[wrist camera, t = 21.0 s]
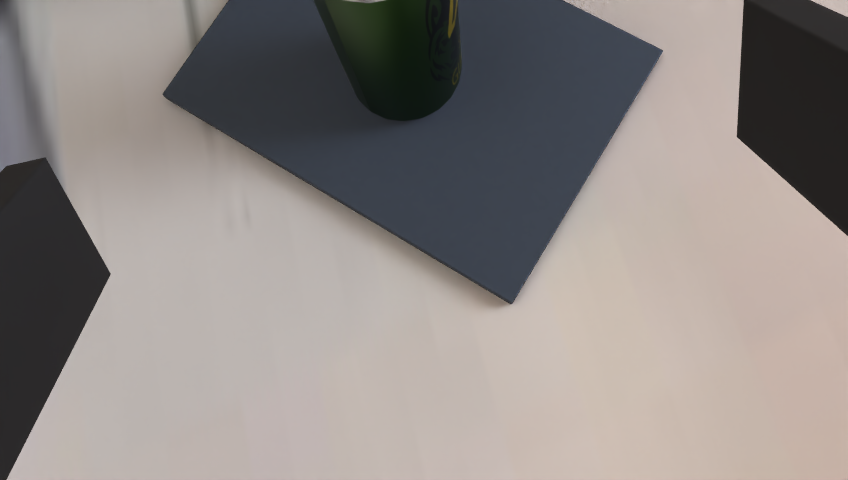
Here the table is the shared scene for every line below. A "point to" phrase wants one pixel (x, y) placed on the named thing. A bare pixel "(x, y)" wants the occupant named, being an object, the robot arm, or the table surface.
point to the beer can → (397, 52)
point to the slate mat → (430, 123)
